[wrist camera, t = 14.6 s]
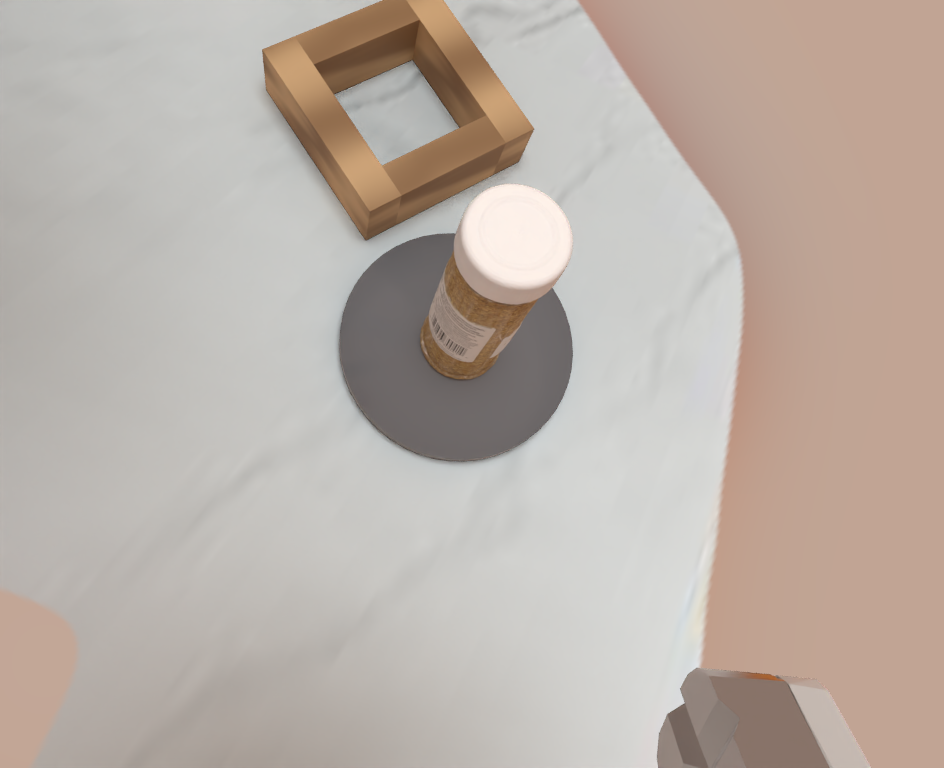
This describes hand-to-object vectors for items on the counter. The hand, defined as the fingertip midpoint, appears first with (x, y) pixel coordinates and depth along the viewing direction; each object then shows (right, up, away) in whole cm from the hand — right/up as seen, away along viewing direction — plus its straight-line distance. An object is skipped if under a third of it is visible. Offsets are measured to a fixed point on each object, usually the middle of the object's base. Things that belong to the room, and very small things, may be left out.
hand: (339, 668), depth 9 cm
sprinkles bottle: (+1, +5, +34) cm, 34 cm away
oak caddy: (-3, +19, +38) cm, 42 cm away
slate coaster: (+1, +5, +35) cm, 35 cm away
